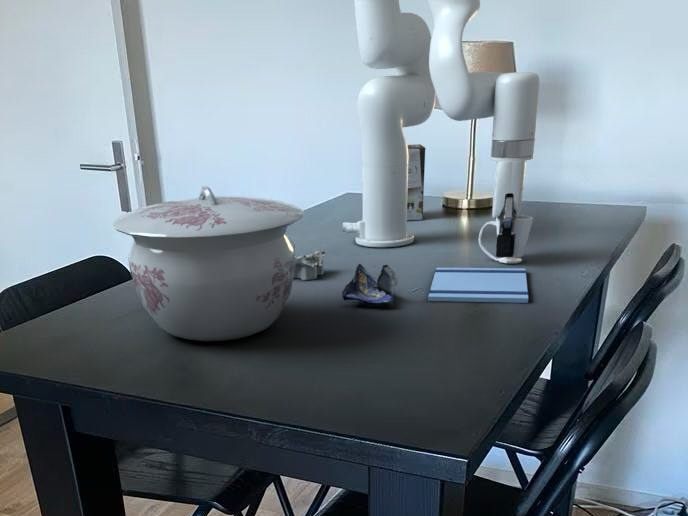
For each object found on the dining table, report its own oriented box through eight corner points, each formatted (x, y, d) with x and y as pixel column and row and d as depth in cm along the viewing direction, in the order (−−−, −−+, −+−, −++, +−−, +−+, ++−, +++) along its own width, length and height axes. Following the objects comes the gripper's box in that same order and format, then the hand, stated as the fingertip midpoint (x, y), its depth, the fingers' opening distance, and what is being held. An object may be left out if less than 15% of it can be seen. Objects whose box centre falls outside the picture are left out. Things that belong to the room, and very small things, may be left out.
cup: (523, 265, 148) (528, 220, 144) (471, 262, 152) (475, 217, 149) (533, 259, 154) (537, 215, 150) (482, 255, 158) (486, 213, 154)
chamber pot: (239, 370, 106) (225, 207, 96) (91, 342, 119) (65, 195, 109) (342, 314, 126) (340, 175, 116) (206, 296, 139) (193, 168, 129)
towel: (428, 301, 131) (428, 295, 131) (436, 271, 148) (436, 266, 148) (527, 303, 128) (528, 297, 127) (524, 272, 145) (525, 267, 144)
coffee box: (423, 220, 192) (426, 147, 184) (397, 221, 193) (398, 148, 184) (419, 213, 200) (421, 143, 192) (393, 214, 200) (395, 144, 192)
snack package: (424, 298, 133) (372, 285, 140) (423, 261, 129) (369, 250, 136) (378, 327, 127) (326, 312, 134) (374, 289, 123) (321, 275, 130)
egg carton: (328, 272, 151) (328, 250, 149) (310, 282, 145) (310, 259, 143) (279, 268, 155) (278, 246, 153) (260, 277, 149) (259, 255, 147)
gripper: (491, 145, 151) (485, 243, 160) (490, 156, 137) (483, 263, 146) (532, 144, 150) (523, 243, 159) (535, 155, 135) (525, 263, 144)
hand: (504, 251), depth 152 cm, fingers closed on cup, 6 cm apart
